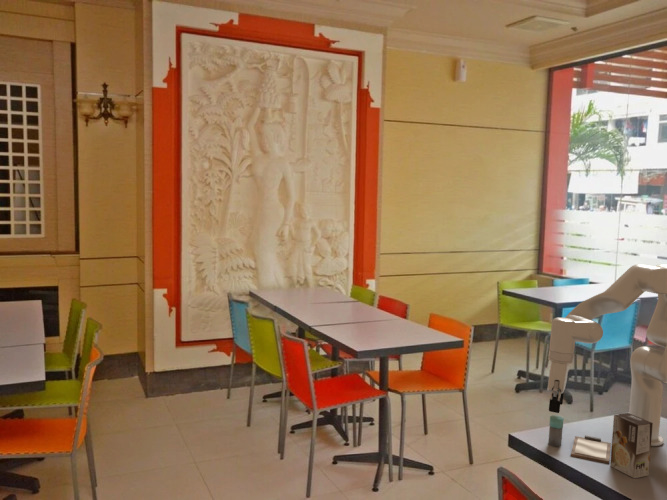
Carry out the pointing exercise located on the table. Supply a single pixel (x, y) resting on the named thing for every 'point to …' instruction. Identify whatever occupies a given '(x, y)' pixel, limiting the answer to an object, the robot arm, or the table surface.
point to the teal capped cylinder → (555, 430)
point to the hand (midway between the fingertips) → (555, 407)
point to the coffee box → (631, 445)
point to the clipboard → (591, 449)
